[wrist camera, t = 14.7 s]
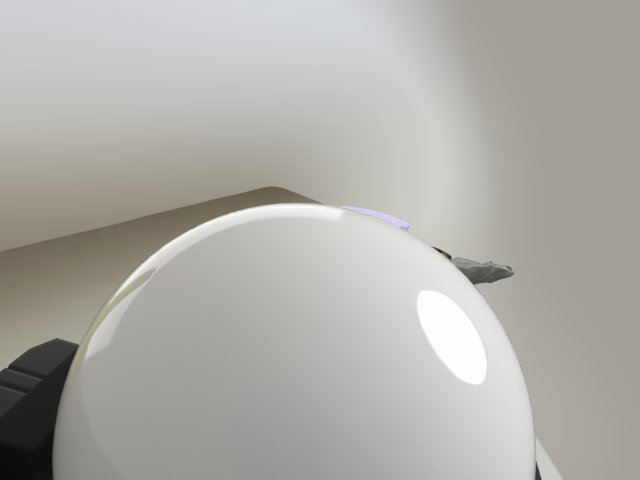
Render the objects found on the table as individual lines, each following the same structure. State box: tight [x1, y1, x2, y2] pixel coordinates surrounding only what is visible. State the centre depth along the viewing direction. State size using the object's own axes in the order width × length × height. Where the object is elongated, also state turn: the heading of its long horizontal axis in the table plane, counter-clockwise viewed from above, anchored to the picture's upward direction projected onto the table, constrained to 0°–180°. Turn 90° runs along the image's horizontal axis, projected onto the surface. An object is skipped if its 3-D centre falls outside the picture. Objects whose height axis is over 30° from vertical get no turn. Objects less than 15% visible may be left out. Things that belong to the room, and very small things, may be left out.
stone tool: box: [441, 253, 514, 285], centre depth 66 cm, size 6×4×30 cm
